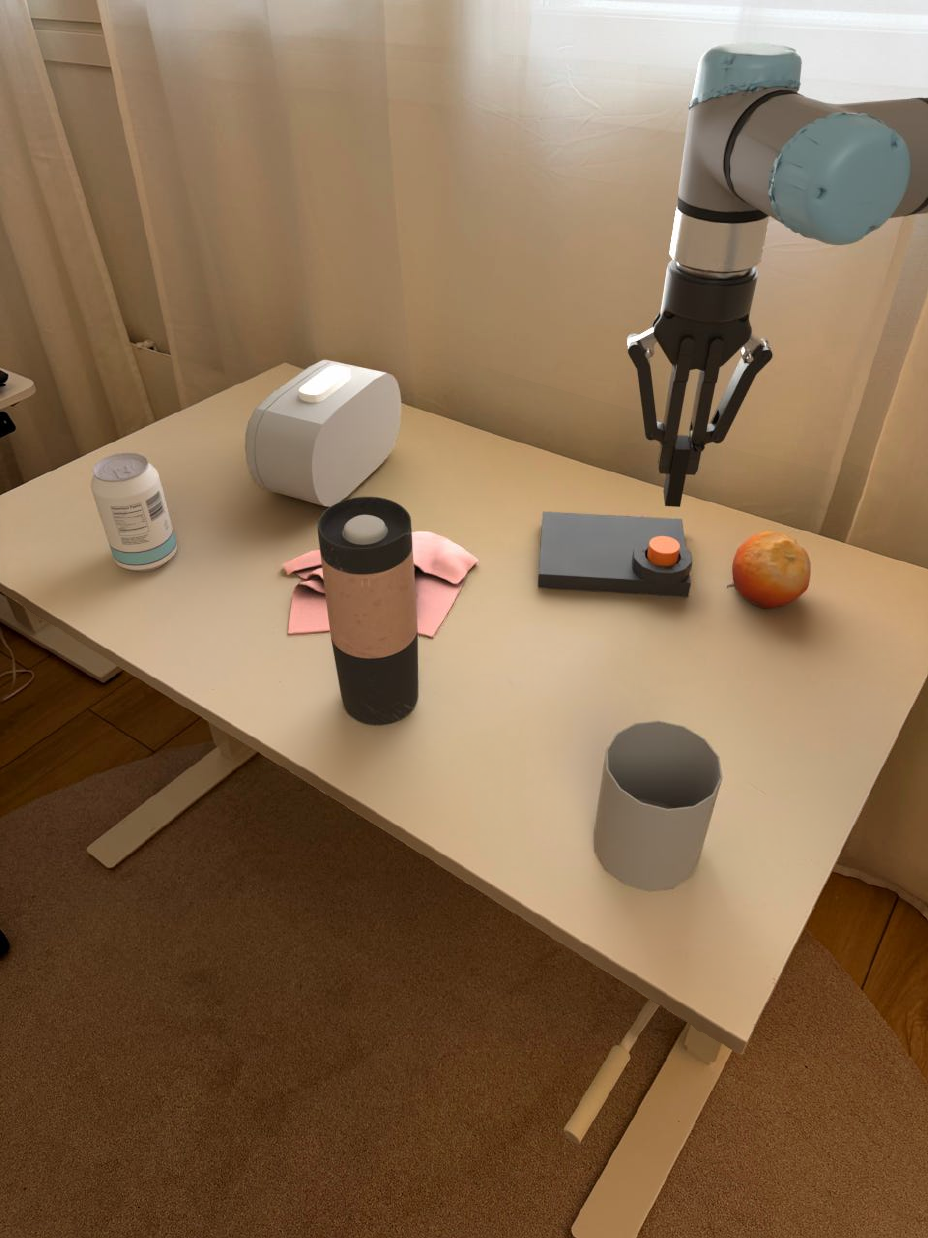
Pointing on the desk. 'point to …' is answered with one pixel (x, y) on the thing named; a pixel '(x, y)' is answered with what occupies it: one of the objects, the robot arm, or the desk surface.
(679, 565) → the scale
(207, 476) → the desk surface
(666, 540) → the button
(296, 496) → the alarm clock
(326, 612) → the cloth
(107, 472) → the beverage can
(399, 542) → the travel mug
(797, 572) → the fruit
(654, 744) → the cup
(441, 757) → the desk surface
